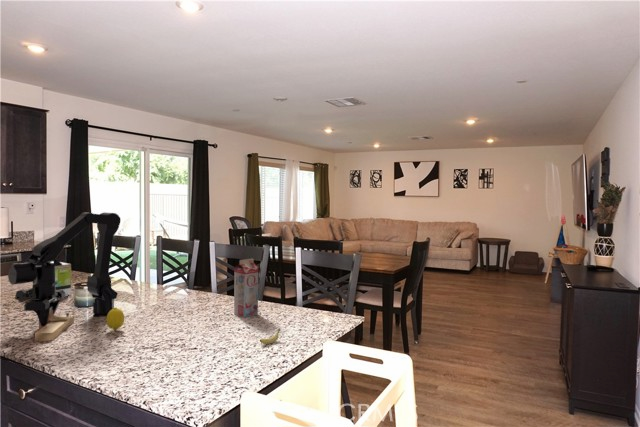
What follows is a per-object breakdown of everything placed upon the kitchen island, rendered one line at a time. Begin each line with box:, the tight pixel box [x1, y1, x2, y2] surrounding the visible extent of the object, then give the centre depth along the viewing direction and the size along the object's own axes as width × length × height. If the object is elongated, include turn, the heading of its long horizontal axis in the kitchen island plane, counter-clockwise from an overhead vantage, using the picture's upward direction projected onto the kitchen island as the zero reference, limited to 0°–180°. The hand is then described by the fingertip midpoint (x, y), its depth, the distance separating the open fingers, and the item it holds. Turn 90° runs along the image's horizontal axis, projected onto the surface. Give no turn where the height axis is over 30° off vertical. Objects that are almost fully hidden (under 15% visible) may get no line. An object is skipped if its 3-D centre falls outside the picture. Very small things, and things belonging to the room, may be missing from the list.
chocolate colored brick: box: [38, 309, 72, 331], centre depth 149 cm, size 9×4×6 cm, turn 103°
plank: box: [34, 314, 75, 342], centre depth 145 cm, size 5×20×2 cm, turn 13°
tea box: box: [32, 261, 72, 299], centre depth 194 cm, size 15×10×15 cm, turn 58°
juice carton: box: [233, 258, 259, 318], centre depth 169 cm, size 7×7×22 cm
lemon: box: [106, 307, 125, 331], centre depth 147 cm, size 6×6×8 cm
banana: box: [259, 327, 281, 345], centre depth 138 cm, size 8×2×4 cm, turn 137°
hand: (46, 324), depth 148 cm, fingers closed on chocolate colored brick, 4 cm apart
